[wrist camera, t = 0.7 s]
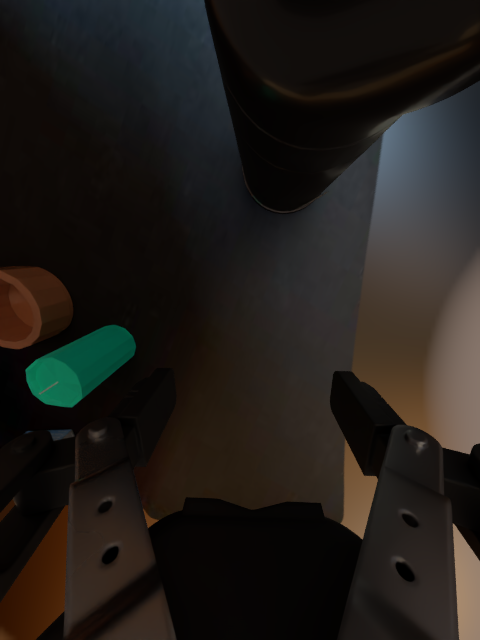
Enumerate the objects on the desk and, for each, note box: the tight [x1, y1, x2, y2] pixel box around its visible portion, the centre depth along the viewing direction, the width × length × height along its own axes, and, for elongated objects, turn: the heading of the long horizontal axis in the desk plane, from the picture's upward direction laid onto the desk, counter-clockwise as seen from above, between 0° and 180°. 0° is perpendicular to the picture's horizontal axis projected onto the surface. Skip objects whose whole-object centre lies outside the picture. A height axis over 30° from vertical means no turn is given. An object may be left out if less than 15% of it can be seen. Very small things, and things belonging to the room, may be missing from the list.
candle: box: [26, 325, 136, 407], centre depth 27 cm, size 6×6×12 cm
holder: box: [0, 266, 73, 349], centre depth 30 cm, size 10×10×5 cm
